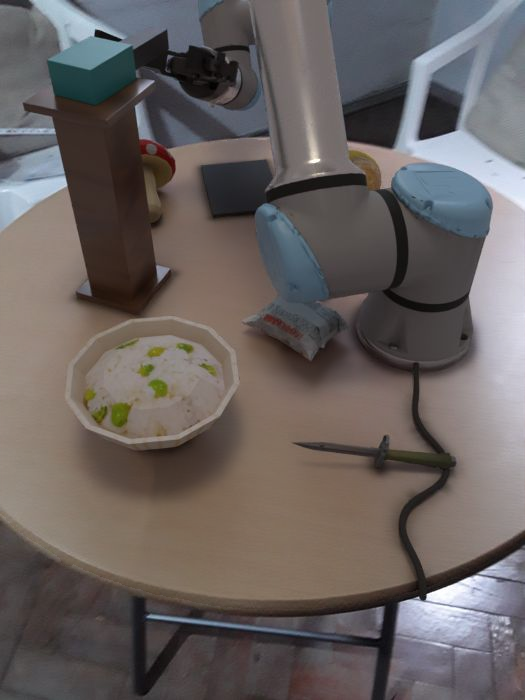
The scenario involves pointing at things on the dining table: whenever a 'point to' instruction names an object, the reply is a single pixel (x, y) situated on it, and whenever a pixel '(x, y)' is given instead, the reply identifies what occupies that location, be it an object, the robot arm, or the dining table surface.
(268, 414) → the dining table surface
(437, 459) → the knife
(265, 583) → the dining table surface
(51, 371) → the dining table surface
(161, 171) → the decorative mushroom
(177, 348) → the bowl
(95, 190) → the stand
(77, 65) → the teal long block
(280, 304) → the packaged food
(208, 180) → the mat
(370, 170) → the fruit
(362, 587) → the dining table surface
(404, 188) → the robot arm
